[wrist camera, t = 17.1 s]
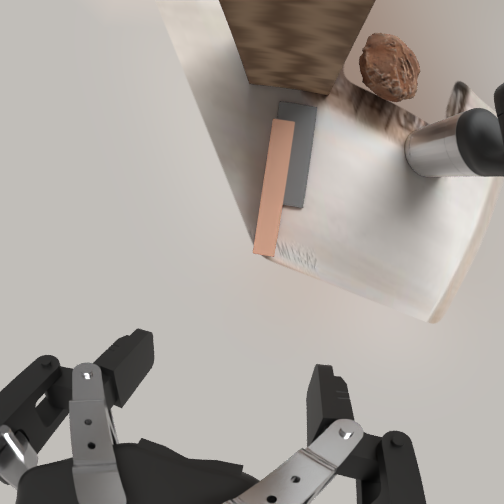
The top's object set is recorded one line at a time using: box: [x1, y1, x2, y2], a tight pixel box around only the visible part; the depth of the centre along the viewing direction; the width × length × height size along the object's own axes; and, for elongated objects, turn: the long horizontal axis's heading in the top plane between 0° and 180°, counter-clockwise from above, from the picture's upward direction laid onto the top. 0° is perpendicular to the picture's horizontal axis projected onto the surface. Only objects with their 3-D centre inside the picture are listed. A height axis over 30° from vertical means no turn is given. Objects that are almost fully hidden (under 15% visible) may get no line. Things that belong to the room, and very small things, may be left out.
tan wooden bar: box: [253, 119, 295, 257], centre depth 44 cm, size 4×22×4 cm, turn 172°
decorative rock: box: [359, 33, 420, 102], centre depth 35 cm, size 13×11×10 cm
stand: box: [219, 0, 375, 95], centre depth 25 cm, size 15×15×32 cm
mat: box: [277, 101, 317, 208], centre depth 45 cm, size 6×18×1 cm, turn 172°
